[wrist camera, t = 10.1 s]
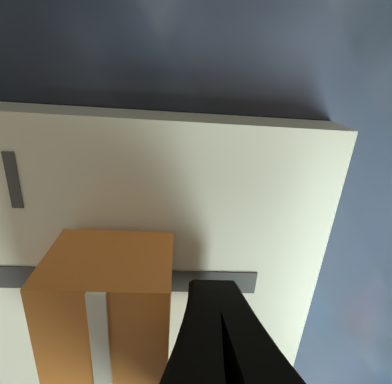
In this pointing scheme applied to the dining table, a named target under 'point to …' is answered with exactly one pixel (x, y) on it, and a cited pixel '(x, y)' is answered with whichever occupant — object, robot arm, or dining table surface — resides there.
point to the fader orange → (101, 307)
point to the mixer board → (171, 204)
